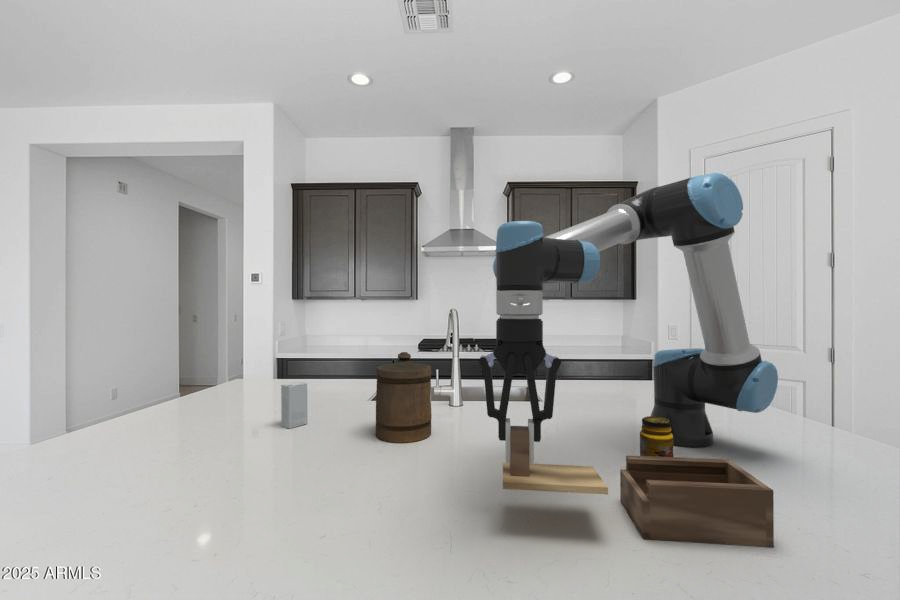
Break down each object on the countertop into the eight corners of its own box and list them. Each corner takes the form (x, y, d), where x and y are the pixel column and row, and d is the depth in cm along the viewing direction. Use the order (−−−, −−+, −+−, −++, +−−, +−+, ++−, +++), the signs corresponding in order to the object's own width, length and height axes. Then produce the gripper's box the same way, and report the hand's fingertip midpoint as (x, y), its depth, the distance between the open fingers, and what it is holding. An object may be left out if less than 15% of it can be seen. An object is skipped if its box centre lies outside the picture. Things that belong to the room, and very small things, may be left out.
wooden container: (441, 431, 116) (441, 351, 116) (408, 447, 103) (408, 357, 103) (399, 423, 123) (399, 348, 124) (363, 436, 111) (363, 353, 111)
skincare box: (299, 421, 125) (299, 380, 125) (308, 424, 122) (308, 382, 122) (280, 426, 120) (280, 384, 120) (288, 429, 117) (288, 386, 117)
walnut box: (620, 501, 75) (620, 455, 75) (728, 506, 73) (728, 459, 73) (643, 539, 63) (642, 484, 63) (773, 547, 61) (773, 490, 61)
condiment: (679, 488, 80) (678, 425, 80) (630, 483, 83) (630, 421, 83) (671, 473, 87) (671, 415, 87) (626, 469, 89) (626, 412, 90)
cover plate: (502, 468, 74) (502, 421, 75) (593, 472, 72) (592, 424, 73) (502, 488, 64) (502, 434, 65) (608, 494, 62) (606, 439, 63)
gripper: (468, 317, 66) (468, 467, 66) (573, 318, 64) (573, 472, 64) (471, 316, 74) (471, 450, 74) (566, 316, 72) (566, 454, 72)
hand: (519, 460), depth 69 cm, fingers closed on cover plate, 3 cm apart
